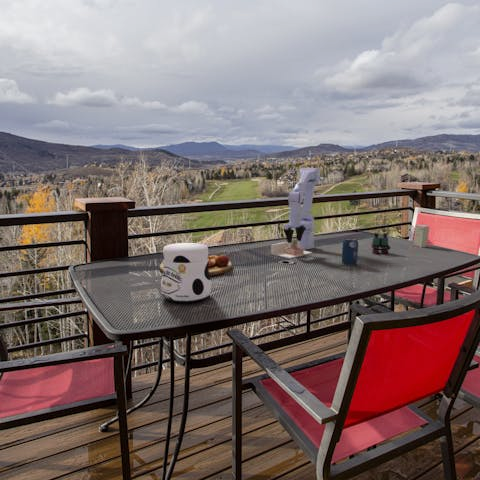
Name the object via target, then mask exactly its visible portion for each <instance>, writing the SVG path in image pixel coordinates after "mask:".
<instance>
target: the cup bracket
mask: <svg viewBox="0 0 480 480" xmlns="http://www.w3.org/2000/svg"><path fill="white" fill-rule="evenodd" d="M270 247H271V250H270V255H273V256H278V257H281V258H285V259H295V258H298V257H303V256H307V255H312V254H313V252H312V251H308V250H304V248H299V247H298V250H291V249H290V243H288V242H287V241H283V242H278V243H274V244H271V246H270Z"/></svg>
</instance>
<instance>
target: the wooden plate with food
mask: <svg viewBox="0 0 480 480" xmlns="http://www.w3.org/2000/svg"><path fill="white" fill-rule="evenodd" d="M208 258H209V275H210V277H211V276H216V275H222V274H225V273H227V272H229V271H230V270H231V269H232V268H233V264H232V262H231V261H230V258H229V257H228V256H227V255H225V254H219V255H215V254H213V255H209V256H208ZM159 270H160V272H162V273H163V262H161V263H160V264H159Z"/></svg>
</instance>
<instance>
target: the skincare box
mask: <svg viewBox="0 0 480 480" xmlns="http://www.w3.org/2000/svg"><path fill="white" fill-rule="evenodd" d="M429 233H430V225H425V224H415V228H414V237H413V246H414V245H415V247H418V246H419V247H418V248H427V247H428V241H429ZM426 246H427V247H426Z"/></svg>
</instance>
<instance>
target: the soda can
mask: <svg viewBox="0 0 480 480" xmlns="http://www.w3.org/2000/svg"><path fill="white" fill-rule="evenodd" d="M341 249H342V252H341V253H342V254H341V262H342V264H343V265H344V264H345V266H350V265H352V266H356V264H357V263H358V254H359V253H358V251H359V241H358V239H357V238H356V237H355V238H354V237H344V240H343V241H342V248H341Z"/></svg>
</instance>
